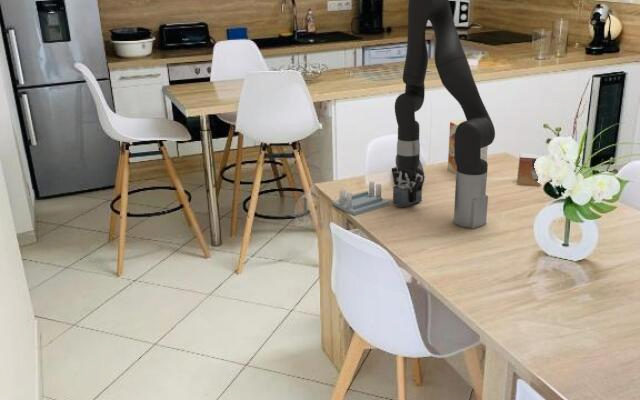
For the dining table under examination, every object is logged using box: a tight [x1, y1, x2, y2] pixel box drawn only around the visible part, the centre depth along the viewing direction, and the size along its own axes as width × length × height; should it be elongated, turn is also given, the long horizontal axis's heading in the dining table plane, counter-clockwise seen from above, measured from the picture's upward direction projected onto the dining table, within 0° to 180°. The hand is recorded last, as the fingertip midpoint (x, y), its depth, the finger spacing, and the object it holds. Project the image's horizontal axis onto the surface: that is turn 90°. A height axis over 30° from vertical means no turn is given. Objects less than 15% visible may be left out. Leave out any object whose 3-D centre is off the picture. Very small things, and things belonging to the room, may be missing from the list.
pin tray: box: [332, 181, 390, 216], centre depth 218 cm, size 12×15×6 cm
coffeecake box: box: [447, 119, 489, 175], centre depth 242 cm, size 15×7×20 cm, turn 25°
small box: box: [516, 152, 543, 187], centre depth 233 cm, size 8×6×10 cm
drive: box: [392, 181, 423, 208], centre depth 218 cm, size 4×9×6 cm, turn 126°
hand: (407, 199), depth 218 cm, fingers closed on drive, 4 cm apart
